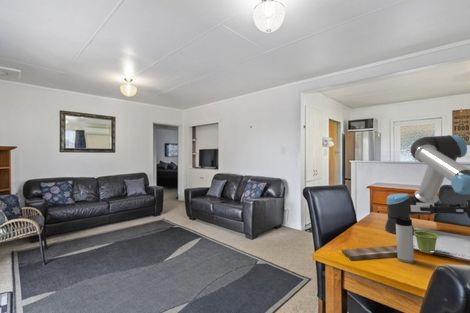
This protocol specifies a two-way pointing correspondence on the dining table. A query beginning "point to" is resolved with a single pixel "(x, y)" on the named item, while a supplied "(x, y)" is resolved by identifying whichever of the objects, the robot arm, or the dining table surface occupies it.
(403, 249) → the travel mug
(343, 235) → the dining table surface
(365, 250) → the walnut board
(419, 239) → the plant pot
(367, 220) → the dining table surface
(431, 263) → the dining table surface
